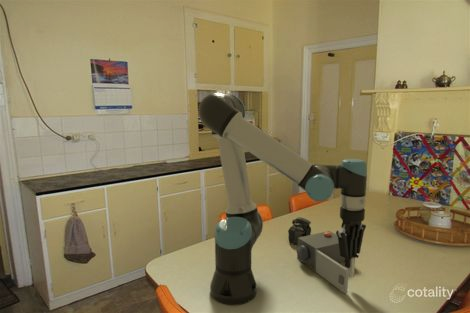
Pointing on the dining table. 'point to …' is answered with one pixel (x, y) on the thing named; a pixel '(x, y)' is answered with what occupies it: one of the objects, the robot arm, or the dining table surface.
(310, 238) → the case
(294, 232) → the camera
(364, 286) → the dining table surface
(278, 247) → the dining table surface
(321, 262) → the door
